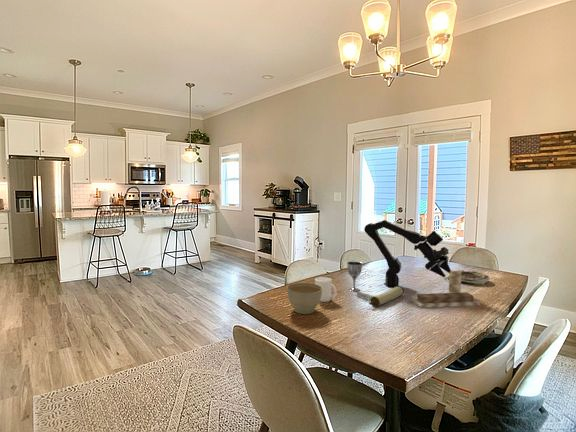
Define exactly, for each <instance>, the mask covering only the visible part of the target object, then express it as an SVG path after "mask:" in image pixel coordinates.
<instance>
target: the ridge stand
mask: <svg viewBox="0 0 576 432" xmlns="http://www.w3.org/2000/svg"><path fill="white" fill-rule="evenodd" d="M416 295H417V296H416V298H411V300H410V301H411V302H412V303H413V304H415V305H416V306H417V307H419V308H441V307H442V308H443V307H444V308H445V307H446V308H447V307H468V306H469V307H470V306H471V307H473V306H481V305H480V302H479V301H477V300H474V295H472V294H471V293H469V292H461V293H449V292H439V293H417V294H416Z"/></svg>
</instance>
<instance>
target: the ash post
mask: <svg viewBox="0 0 576 432" xmlns="http://www.w3.org/2000/svg"><path fill="white" fill-rule="evenodd" d="M460 271H461V270H460ZM460 271H458V270H457V271H456V270H451V271H450V275H449V279H448V293H462V292H461V291H462V290H461V289H462V282H461V275H462V272H460Z"/></svg>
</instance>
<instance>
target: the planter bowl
mask: <svg viewBox="0 0 576 432" xmlns="http://www.w3.org/2000/svg"><path fill="white" fill-rule="evenodd" d="M286 291H287V298H288V301H289V303H290V304H291V307H292V308H293V312H295V313H297V314H303V315H308V314H312V313H314V312H315V309H316V308H317V307H318V305H319V304H320V299H321V295H322V287H321V286H319V285H316V284H315V283H312V282H311V283H310V282H295V283H291V284H289V285H287V287H286Z"/></svg>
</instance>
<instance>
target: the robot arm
mask: <svg viewBox="0 0 576 432" xmlns="http://www.w3.org/2000/svg"><path fill="white" fill-rule="evenodd" d="M363 229H364V230H363V231H364V233H365V234H367V236H368V237H370V239H371V240H373V242H374V243H375V245H376V246H377V248H378V250H379V251H380V252H381V254H382V256H383V258H384V259H385V261H386V264H387V266H388V267H387V268H388V269H387V270H386V271H385V282H384V283H383V284H384V285H385V286H387V287H388V288H394V287H398V286H400V285H399V282H400V278H399V275H398V274H399V273H400V272H401V269H402V262H401V261H400V259H399V258H398V257H396V258H395V257H394V256H393V255H392V253H391V252H390V250H389V248H388V247H387V245H386V243H385V242H384V241H383V239H382V238H381V236H380V234H379V230H380V229H385V230H386V229H387V230H388V231H391V232H393V233H395V234H398V235H400V236H402V237H403V238H404V239H406V240H407V241H408V242H409V243H411V244H413V245H414V247H413V249H414V251H417V250H418V251H420V253H422V255H423V259H426V260H427V261H428V262H427V263H426V264H424V268H425V269H426V271H430V272H432V273H434V274H436V275H439V276H440V277H442V278H446V274H445V273H444V272H446V273H447V274H448V273H449V274H450V271H452V270H451V267H450V265H449V260H450V259H449V256H447V255H449V249H448V248H447V247H446V246H443V247H441V248H440V249H439V250H437V249H436V248H435V249H434V248H432V247H436V246H437V245H439V244H440V243H441V242H442V241H444V239H443V237H442V236H441V235H440V234H439V233H437V232H436V231H435V230H432V231H431V233H430V234H428V235H424V234H422V235H421V234H420V233H419V232H417V231H413V230H407V229H405V228H403V227H400V226H399V225H396V224H394V223H391V222H390V221H388V220H387V219H383V220H380V221H378V222H376V223H373V222H371V223H368V224H366V225H365V226H364V228H363Z"/></svg>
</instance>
